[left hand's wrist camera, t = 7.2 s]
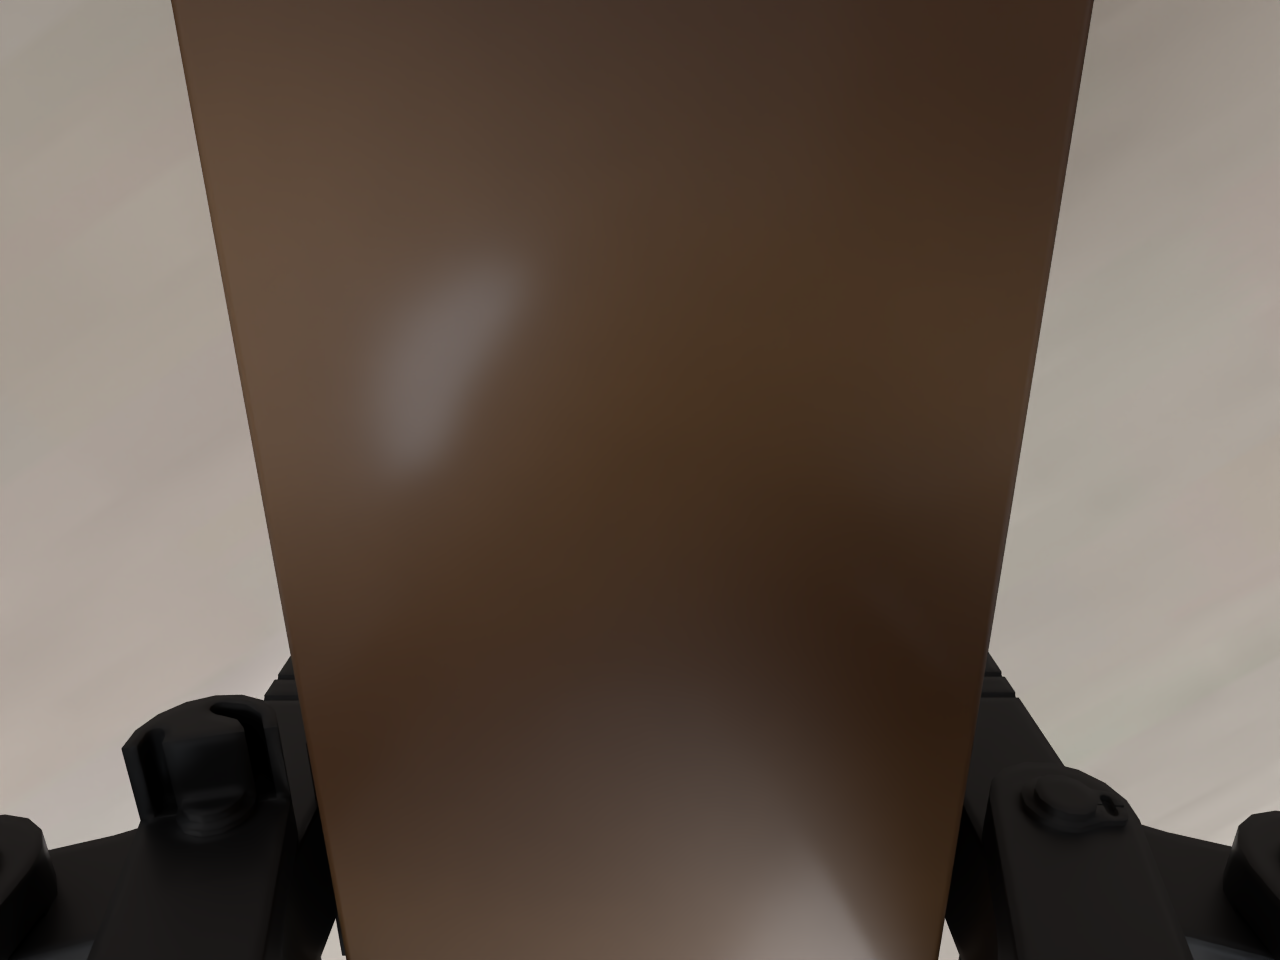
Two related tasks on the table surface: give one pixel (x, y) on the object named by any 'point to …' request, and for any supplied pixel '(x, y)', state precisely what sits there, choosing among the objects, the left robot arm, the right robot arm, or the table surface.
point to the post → (636, 444)
